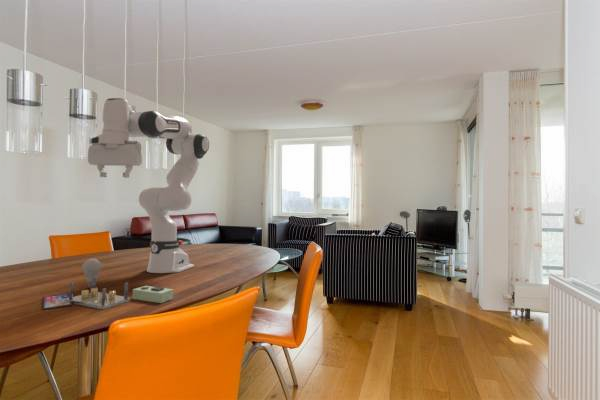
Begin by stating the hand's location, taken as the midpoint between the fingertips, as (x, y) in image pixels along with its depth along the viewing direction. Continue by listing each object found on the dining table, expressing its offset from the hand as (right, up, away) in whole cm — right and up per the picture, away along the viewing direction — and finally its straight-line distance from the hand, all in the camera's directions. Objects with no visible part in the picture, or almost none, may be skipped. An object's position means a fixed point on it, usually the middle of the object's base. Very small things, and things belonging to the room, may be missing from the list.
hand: (114, 177), depth 128 cm
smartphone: (-8, -42, -19) cm, 47 cm away
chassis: (+4, -42, -17) cm, 45 cm away
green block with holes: (+20, -42, -13) cm, 49 cm away
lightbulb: (-8, -42, -2) cm, 42 cm away
